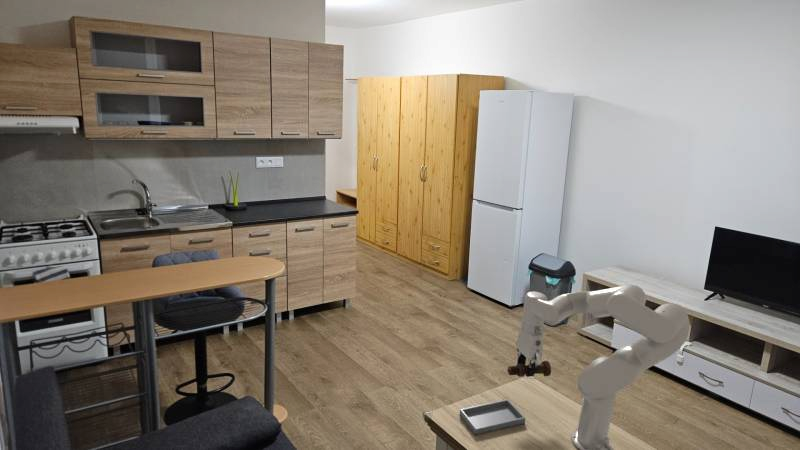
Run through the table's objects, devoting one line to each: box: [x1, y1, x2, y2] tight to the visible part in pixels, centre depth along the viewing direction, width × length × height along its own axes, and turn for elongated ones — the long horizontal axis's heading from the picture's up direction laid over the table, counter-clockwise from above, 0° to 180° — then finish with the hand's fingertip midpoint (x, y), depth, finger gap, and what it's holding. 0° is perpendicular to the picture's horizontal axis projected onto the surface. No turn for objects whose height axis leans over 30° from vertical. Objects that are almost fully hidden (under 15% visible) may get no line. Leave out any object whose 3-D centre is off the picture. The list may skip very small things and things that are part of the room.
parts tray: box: [459, 398, 526, 436], centre depth 186 cm, size 11×20×2 cm, turn 112°
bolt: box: [506, 360, 552, 378], centre depth 190 cm, size 6×5×15 cm
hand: (525, 370), depth 190 cm, fingers closed on bolt, 5 cm apart
